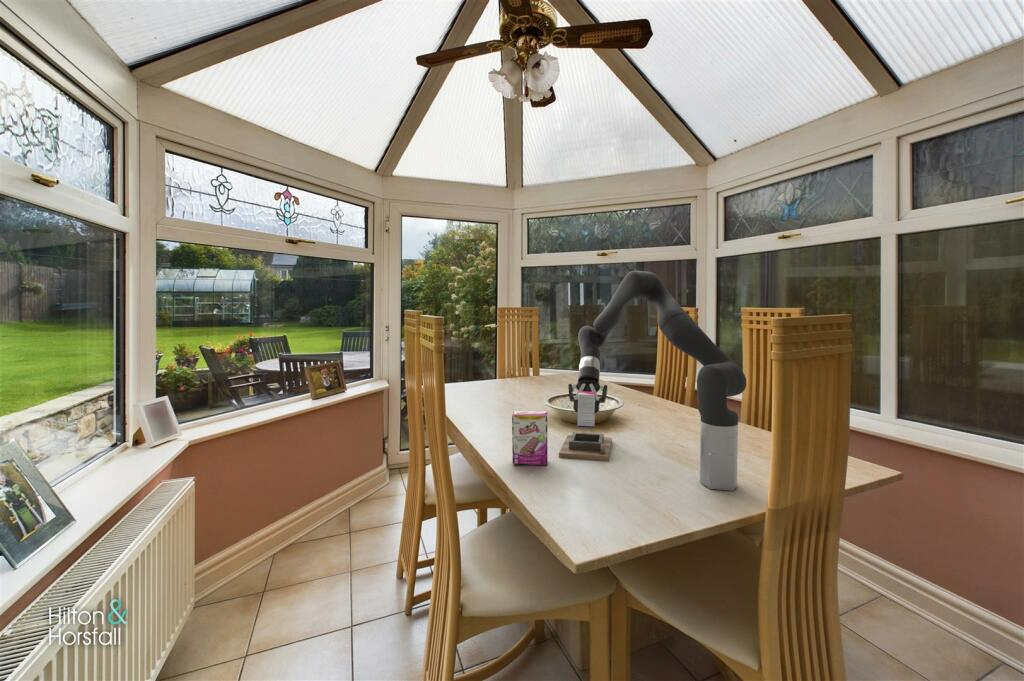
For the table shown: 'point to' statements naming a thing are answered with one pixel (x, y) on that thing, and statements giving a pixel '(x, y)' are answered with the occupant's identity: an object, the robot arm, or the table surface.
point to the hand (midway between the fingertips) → (586, 411)
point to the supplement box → (586, 409)
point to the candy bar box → (530, 437)
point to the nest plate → (586, 446)
